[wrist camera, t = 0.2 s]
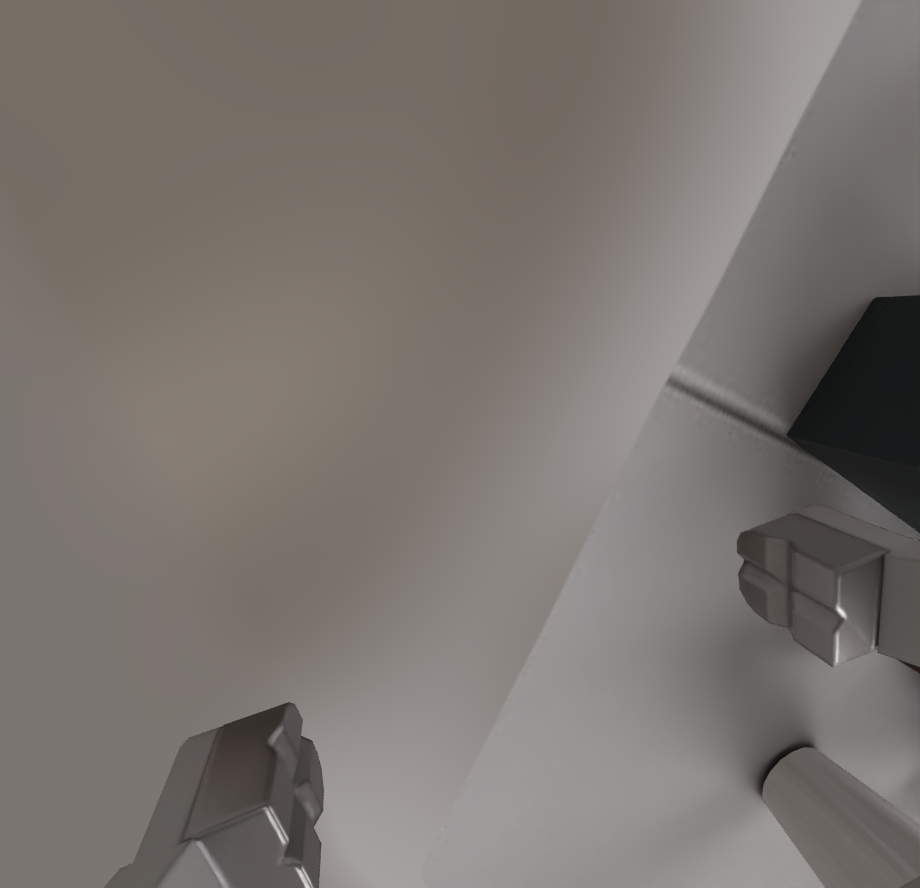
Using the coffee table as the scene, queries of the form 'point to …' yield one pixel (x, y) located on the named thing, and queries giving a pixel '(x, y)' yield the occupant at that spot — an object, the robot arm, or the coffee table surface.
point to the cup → (842, 824)
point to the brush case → (873, 408)
